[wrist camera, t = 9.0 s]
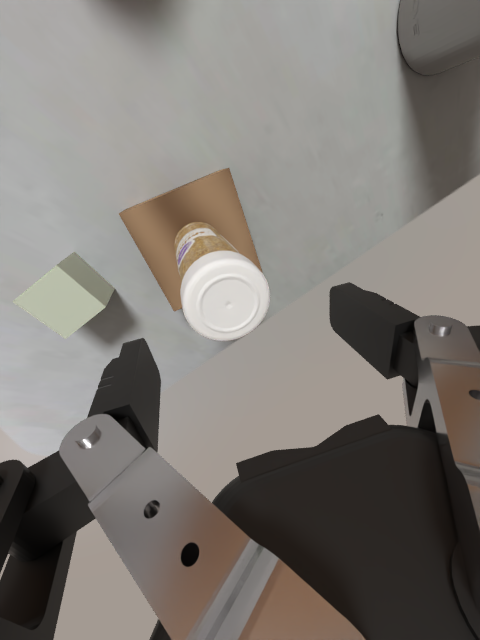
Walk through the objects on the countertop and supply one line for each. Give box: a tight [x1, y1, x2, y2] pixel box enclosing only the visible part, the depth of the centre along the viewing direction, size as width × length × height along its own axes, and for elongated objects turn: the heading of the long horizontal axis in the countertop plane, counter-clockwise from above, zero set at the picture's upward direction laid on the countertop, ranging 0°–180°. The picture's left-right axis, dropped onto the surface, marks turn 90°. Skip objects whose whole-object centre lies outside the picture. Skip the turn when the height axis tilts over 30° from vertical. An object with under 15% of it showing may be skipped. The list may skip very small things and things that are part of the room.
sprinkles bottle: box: [174, 222, 270, 341], centre depth 19 cm, size 5×5×14 cm
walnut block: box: [119, 168, 262, 311], centre depth 26 cm, size 10×10×4 cm
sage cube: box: [13, 252, 115, 339], centre depth 25 cm, size 5×5×5 cm
